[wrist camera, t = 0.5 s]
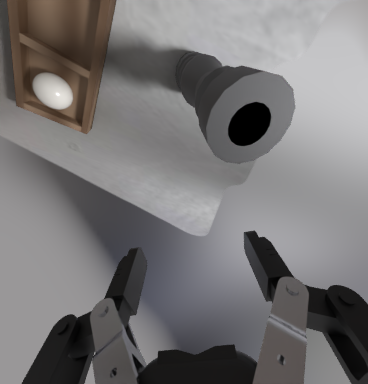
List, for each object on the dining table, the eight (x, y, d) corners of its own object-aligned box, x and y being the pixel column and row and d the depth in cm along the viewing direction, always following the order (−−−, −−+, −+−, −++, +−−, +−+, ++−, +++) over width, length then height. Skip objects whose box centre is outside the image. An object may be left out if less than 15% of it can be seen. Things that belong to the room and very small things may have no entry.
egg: (43, 95, 27) (25, 103, 24) (43, 63, 25) (23, 66, 21) (76, 110, 29) (64, 119, 26) (79, 81, 27) (66, 87, 23)
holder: (27, 101, 29) (16, 105, 26) (18, -78, 18) (-2, -95, 15) (91, 128, 33) (86, 134, 31) (116, -2, 22) (111, -7, 20)
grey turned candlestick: (168, 75, 28) (181, 129, 10) (193, 40, 25) (275, 29, 7) (191, 101, 31) (234, 179, 13) (216, 74, 29) (312, 123, 11)
